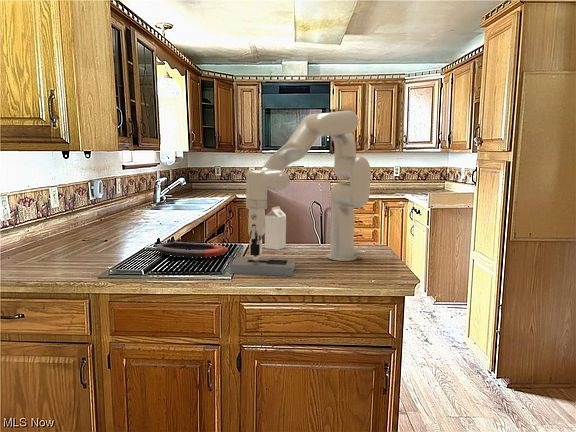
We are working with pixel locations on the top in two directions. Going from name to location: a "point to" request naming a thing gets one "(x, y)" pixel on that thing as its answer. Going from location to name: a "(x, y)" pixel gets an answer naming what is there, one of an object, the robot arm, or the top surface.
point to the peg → (256, 257)
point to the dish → (197, 249)
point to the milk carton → (275, 229)
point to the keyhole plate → (263, 266)
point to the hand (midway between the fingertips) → (255, 253)
